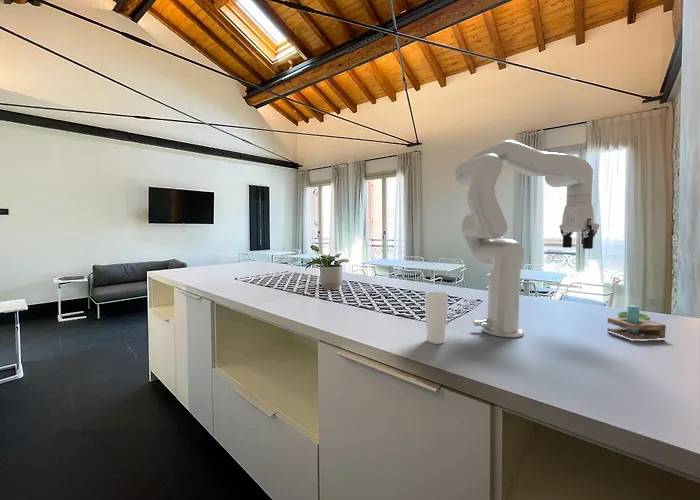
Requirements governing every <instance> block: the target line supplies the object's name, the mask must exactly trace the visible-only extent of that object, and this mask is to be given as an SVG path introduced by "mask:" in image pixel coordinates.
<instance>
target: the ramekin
mask: <svg viewBox="0 0 700 500" xmlns="http://www.w3.org/2000/svg"><path fill="white" fill-rule="evenodd" d="M617 316H618V318H627V311H618V312H617ZM639 318H642V319H645V320H649V321H651V316H650V314H646V313H641V312H639Z"/></svg>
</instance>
